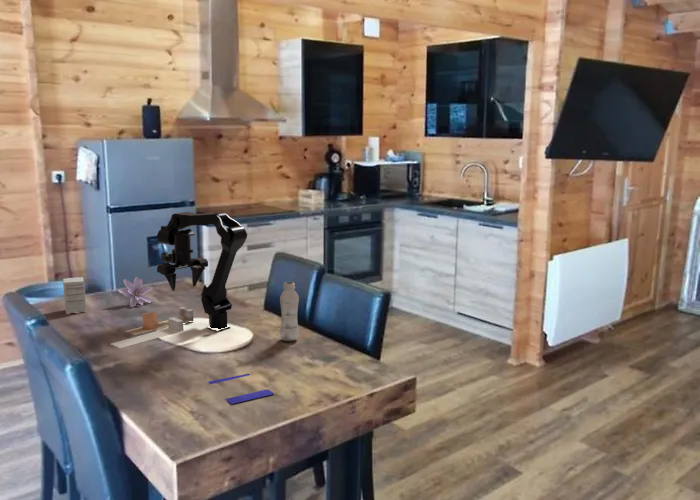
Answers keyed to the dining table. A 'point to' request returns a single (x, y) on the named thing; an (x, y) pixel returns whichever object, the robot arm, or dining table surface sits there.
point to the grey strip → (153, 333)
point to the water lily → (133, 292)
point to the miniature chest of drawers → (74, 294)
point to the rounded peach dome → (150, 320)
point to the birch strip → (184, 315)
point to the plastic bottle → (289, 313)
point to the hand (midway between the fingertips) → (183, 288)
